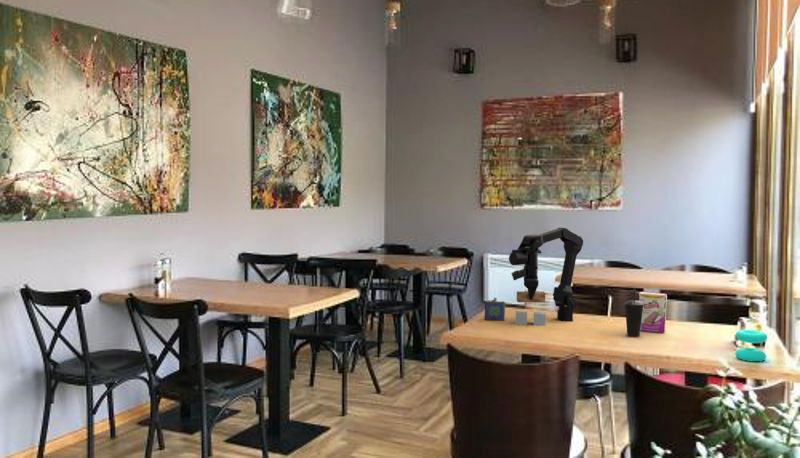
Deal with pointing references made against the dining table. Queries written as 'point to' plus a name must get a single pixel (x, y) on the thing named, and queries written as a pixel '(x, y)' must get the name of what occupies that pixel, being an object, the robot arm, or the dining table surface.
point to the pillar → (539, 318)
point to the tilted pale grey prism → (521, 317)
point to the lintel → (525, 297)
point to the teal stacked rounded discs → (751, 337)
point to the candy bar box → (653, 312)
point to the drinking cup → (633, 316)
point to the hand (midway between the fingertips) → (530, 298)
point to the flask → (494, 310)
